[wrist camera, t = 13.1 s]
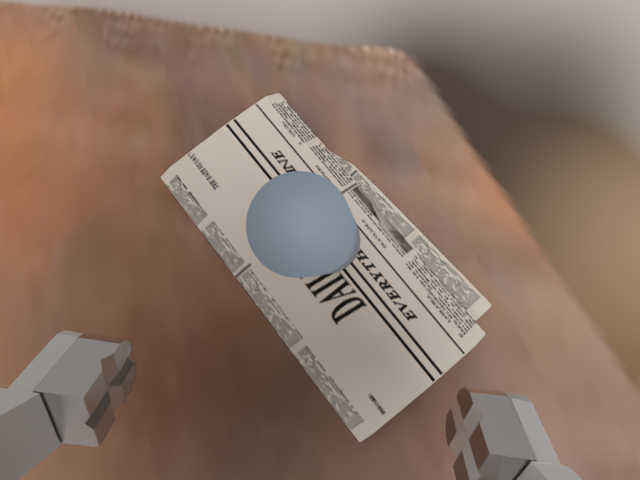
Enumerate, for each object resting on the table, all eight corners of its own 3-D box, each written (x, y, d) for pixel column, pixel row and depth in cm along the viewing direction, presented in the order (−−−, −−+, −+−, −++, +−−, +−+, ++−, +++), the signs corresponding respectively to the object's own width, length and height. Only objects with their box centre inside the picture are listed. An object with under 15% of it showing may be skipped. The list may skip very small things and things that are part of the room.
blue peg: (287, 267, 24) (237, 267, 16) (299, 201, 25) (255, 164, 16) (354, 279, 24) (341, 286, 15) (365, 211, 24) (359, 178, 15)
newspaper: (495, 315, 26) (512, 317, 23) (357, 431, 25) (359, 446, 22) (293, 81, 29) (288, 61, 27) (166, 178, 28) (149, 166, 26)
